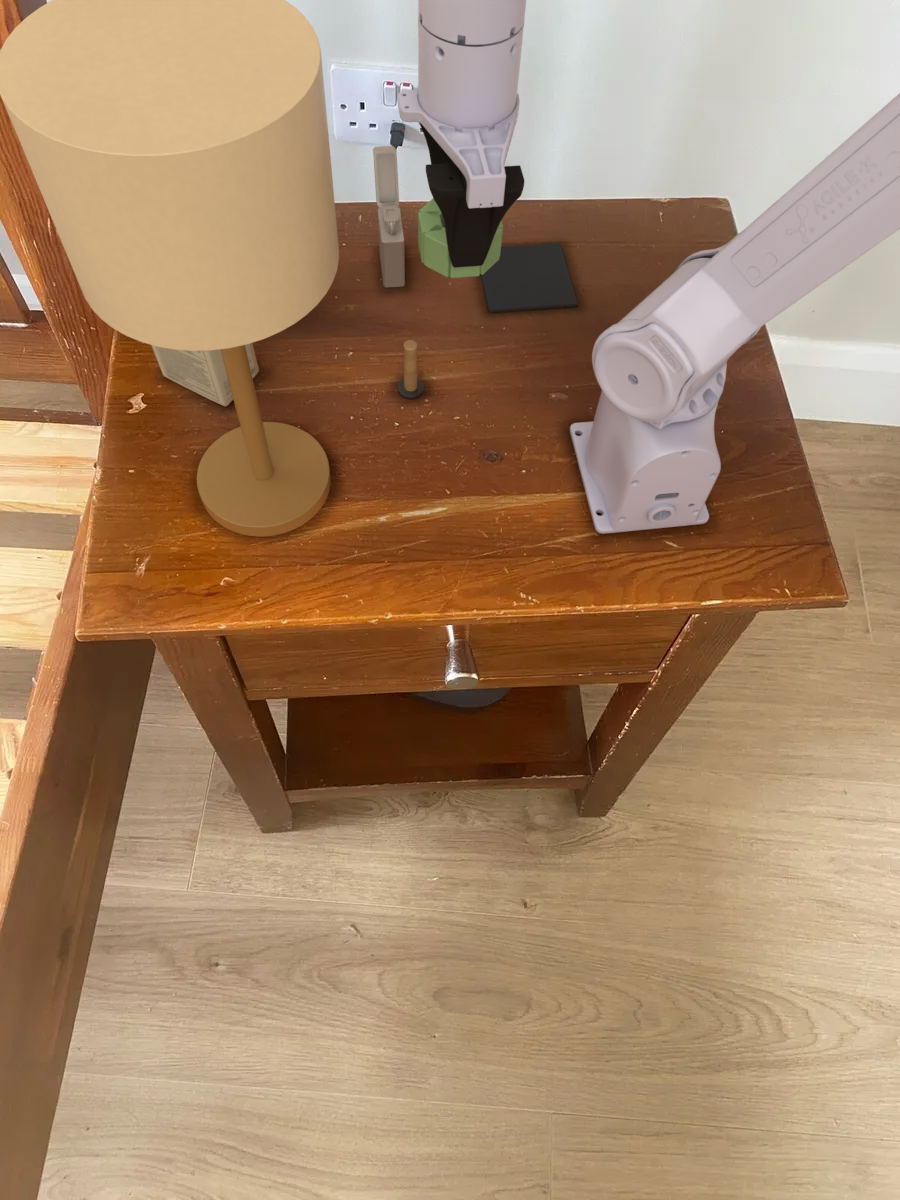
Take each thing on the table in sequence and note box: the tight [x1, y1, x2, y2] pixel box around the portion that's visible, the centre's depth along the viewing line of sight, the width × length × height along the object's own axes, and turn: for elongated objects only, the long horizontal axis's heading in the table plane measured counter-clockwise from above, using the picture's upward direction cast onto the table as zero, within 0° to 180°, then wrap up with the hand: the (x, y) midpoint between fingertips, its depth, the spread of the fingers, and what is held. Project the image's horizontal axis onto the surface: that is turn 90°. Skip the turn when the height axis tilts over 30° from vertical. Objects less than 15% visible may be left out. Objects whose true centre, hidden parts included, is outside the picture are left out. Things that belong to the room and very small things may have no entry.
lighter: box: [372, 145, 406, 288], centre depth 70 cm, size 7×2×8 cm, turn 7°
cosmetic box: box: [151, 342, 260, 407], centre depth 61 cm, size 6×4×12 cm
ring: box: [417, 197, 504, 279], centre depth 59 cm, size 5×5×2 cm
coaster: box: [480, 242, 578, 314], centre depth 72 cm, size 7×7×1 cm
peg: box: [396, 339, 425, 400], centre depth 64 cm, size 2×2×4 cm
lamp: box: [0, 0, 340, 538], centre depth 49 cm, size 13×13×29 cm
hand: (460, 232), depth 59 cm, fingers closed on ring, 5 cm apart
